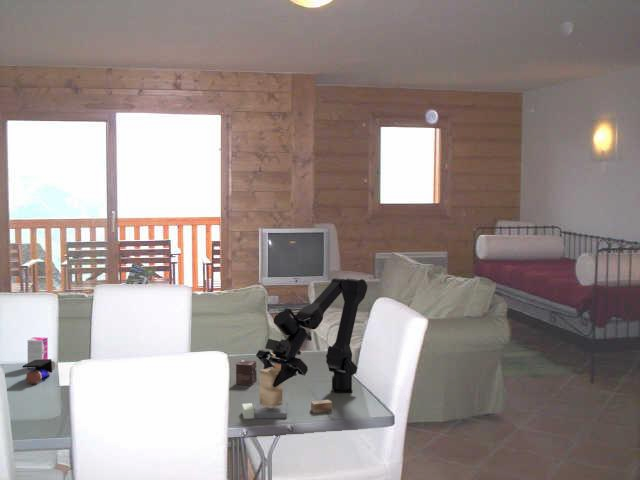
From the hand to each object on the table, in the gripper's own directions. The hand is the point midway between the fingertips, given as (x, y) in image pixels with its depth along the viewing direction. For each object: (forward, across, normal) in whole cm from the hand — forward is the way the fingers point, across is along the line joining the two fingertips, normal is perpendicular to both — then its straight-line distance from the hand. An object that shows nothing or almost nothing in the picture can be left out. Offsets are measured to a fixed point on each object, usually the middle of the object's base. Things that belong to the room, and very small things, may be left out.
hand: (267, 384), depth 217 cm
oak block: (+4, 0, +6) cm, 7 cm away
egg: (-14, -28, +28) cm, 42 cm away
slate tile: (+6, 0, +7) cm, 9 cm away
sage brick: (+10, -3, +3) cm, 11 cm away
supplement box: (+24, -105, -11) cm, 108 cm away
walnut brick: (-3, +10, +17) cm, 20 cm away
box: (-6, -31, +20) cm, 37 cm away
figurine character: (+29, -88, -16) cm, 94 cm away
